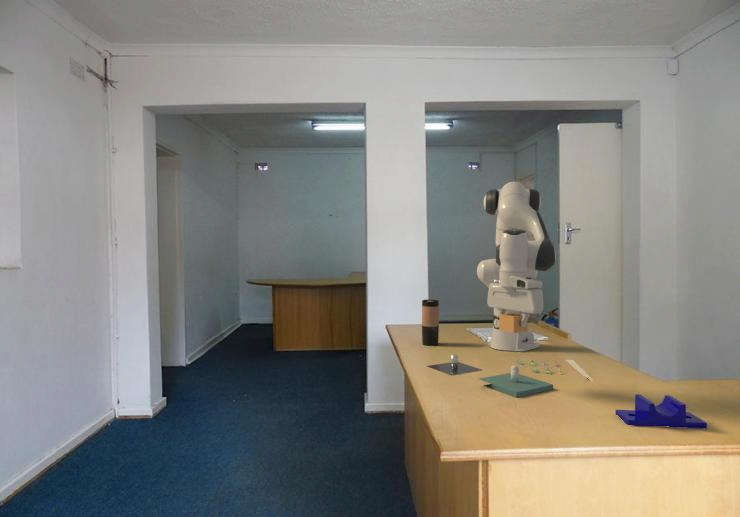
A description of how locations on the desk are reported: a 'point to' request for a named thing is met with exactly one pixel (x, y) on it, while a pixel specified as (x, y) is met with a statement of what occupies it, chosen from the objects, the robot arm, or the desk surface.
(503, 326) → the collar
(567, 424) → the desk surface
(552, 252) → the robot arm
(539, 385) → the hub plate
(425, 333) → the travel mug
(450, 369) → the stand
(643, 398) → the mounting bracket
